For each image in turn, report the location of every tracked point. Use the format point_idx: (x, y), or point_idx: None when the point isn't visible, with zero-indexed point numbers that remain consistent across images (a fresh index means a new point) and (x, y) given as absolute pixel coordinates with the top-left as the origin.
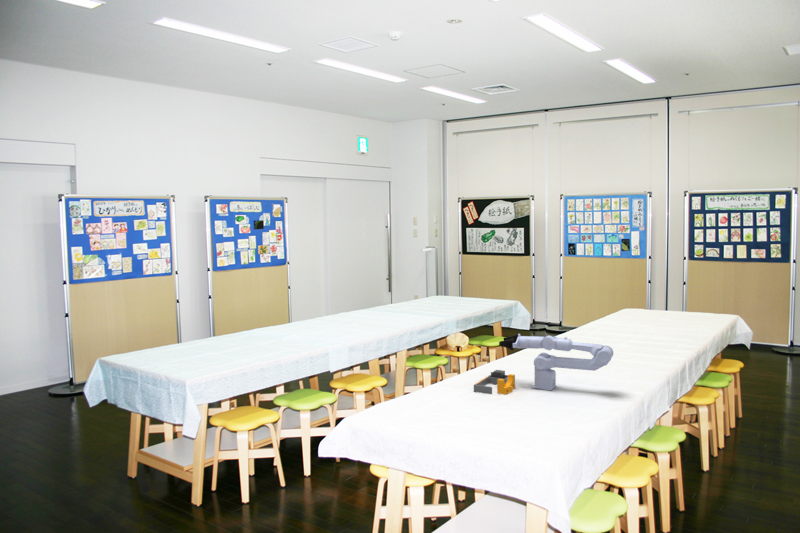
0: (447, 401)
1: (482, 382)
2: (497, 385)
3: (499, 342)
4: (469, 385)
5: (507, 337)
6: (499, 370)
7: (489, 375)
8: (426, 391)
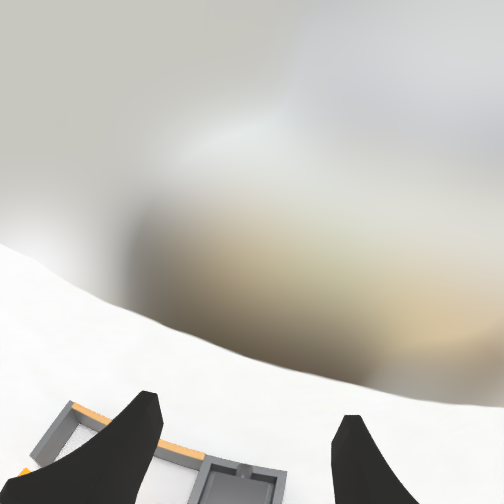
0: (3, 341)
1: None
2: None
3: (139, 398)
4: None
5: (355, 454)
6: (257, 499)
7: (239, 463)
8: (94, 307)
